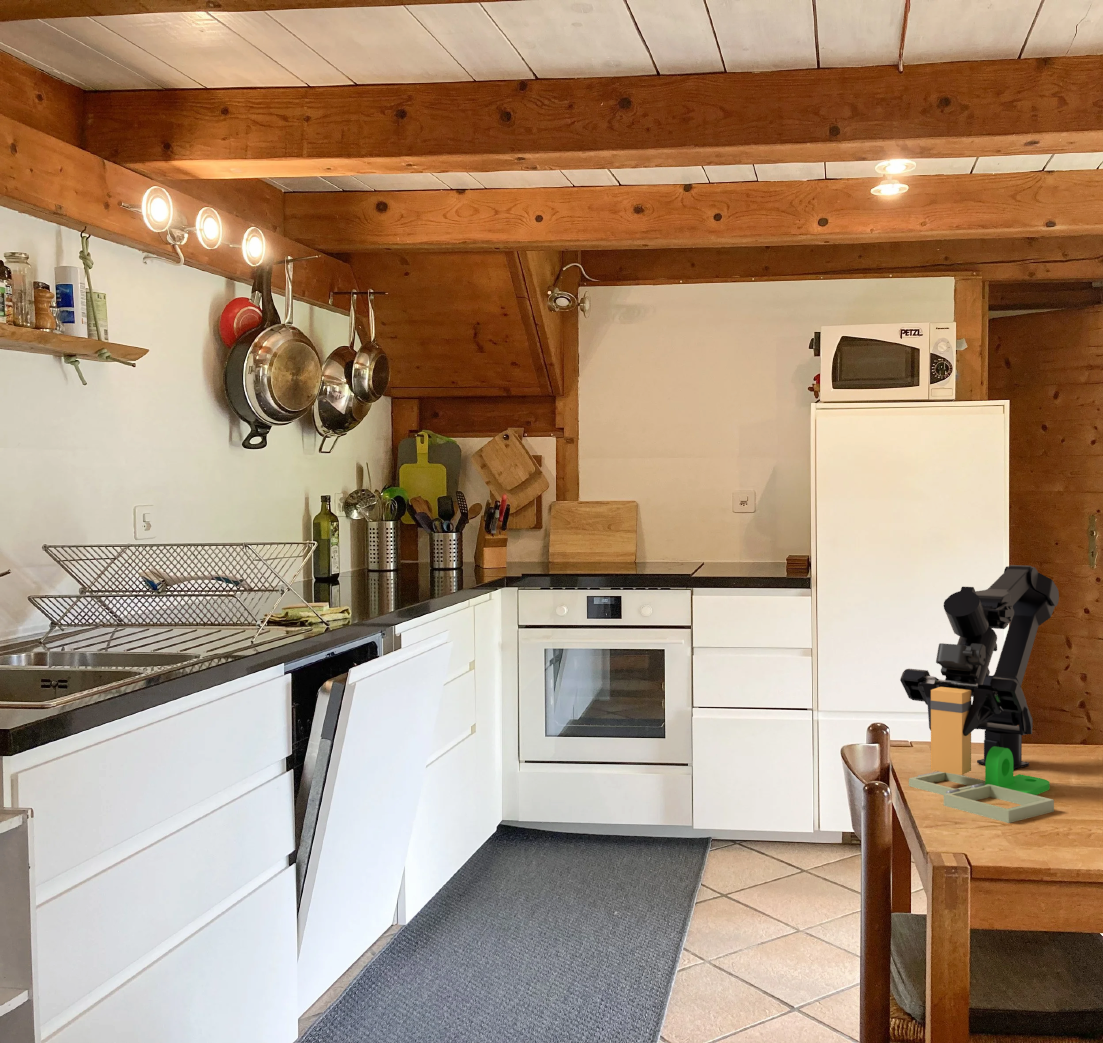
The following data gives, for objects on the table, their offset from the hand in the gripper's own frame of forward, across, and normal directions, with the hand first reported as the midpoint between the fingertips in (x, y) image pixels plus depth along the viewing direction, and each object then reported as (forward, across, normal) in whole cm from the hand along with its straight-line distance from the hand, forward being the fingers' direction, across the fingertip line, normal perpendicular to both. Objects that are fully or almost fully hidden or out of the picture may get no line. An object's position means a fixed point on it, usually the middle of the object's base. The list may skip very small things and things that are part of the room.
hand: (947, 732), depth 173 cm
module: (+4, 0, +6) cm, 7 cm away
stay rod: (+1, -5, +13) cm, 14 cm away
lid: (+6, 0, +8) cm, 10 cm away
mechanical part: (+2, +9, +13) cm, 16 cm away
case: (+11, +10, +3) cm, 15 cm away
